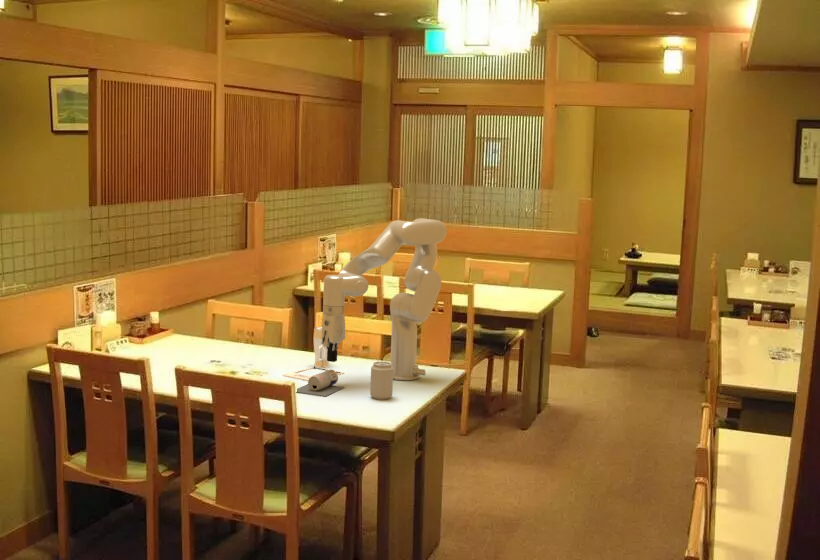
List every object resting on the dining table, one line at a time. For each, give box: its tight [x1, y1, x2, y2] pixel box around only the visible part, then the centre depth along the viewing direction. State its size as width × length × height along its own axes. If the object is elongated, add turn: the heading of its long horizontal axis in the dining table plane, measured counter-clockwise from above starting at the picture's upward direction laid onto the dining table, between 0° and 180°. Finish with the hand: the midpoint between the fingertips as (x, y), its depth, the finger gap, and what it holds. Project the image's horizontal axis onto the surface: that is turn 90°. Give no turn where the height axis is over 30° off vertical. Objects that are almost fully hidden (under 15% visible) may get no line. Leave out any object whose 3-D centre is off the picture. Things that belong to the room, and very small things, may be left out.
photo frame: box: [282, 366, 345, 382], centre depth 338 cm, size 15×1×18 cm
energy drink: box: [307, 369, 339, 391], centre depth 318 cm, size 5×5×12 cm
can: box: [369, 360, 394, 401], centre depth 309 cm, size 8×8×12 cm
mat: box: [296, 383, 345, 398], centre depth 317 cm, size 13×14×1 cm
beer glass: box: [313, 326, 331, 369], centre depth 352 cm, size 7×7×15 cm
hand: (331, 361), depth 323 cm, fingers closed
